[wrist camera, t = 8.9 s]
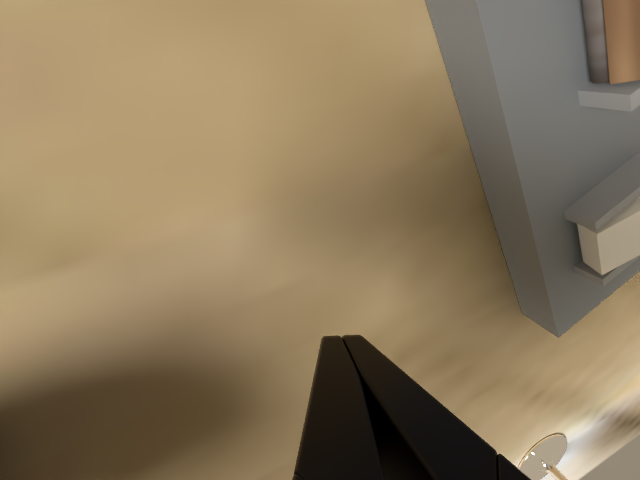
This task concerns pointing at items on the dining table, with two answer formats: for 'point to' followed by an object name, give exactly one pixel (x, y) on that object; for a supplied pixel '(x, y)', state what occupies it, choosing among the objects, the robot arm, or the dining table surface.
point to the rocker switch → (612, 240)
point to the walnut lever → (612, 40)
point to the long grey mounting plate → (543, 144)
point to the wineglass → (544, 458)
